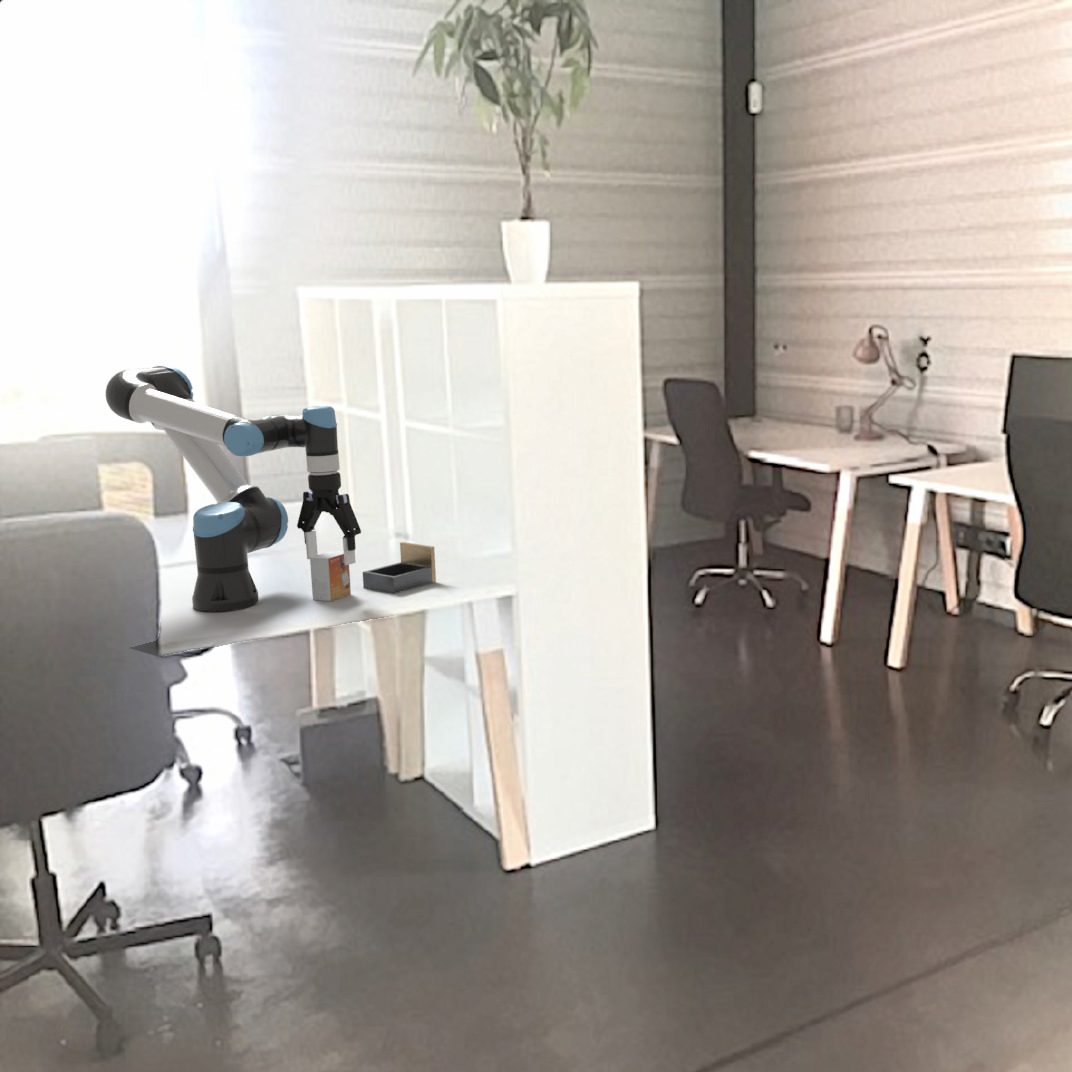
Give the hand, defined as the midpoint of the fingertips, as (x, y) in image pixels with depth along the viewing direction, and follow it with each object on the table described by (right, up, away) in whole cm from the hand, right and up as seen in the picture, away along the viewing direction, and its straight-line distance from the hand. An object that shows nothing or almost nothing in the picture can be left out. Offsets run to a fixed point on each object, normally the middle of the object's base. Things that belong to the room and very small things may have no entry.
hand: (331, 561), depth 281 cm
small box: (0, -9, +2) cm, 9 cm away
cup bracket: (+15, -6, +11) cm, 20 cm away
